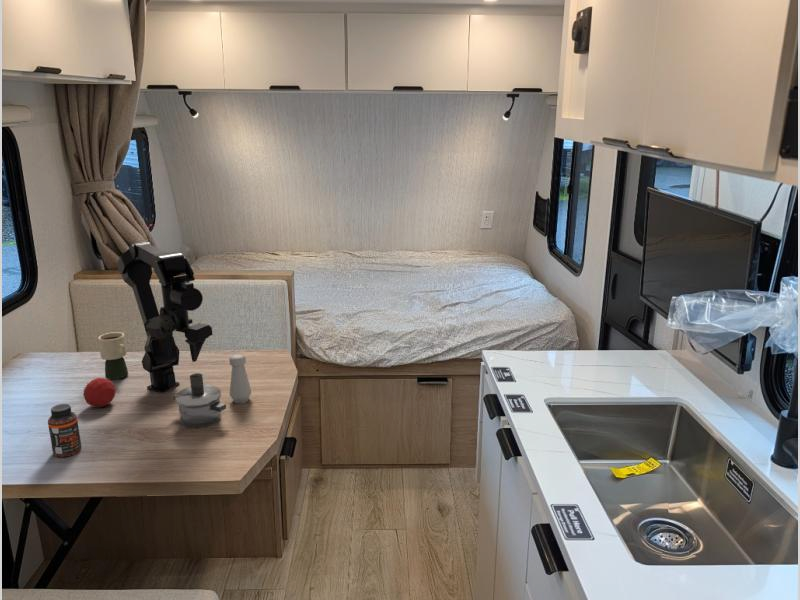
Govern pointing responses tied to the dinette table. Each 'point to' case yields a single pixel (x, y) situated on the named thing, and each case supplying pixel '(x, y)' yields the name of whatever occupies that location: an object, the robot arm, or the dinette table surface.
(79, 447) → the supplement bottle
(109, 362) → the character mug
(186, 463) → the dinette table surface
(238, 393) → the salt shaker
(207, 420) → the cooker pot
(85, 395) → the tomato
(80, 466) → the dinette table surface
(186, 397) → the cooker lid
